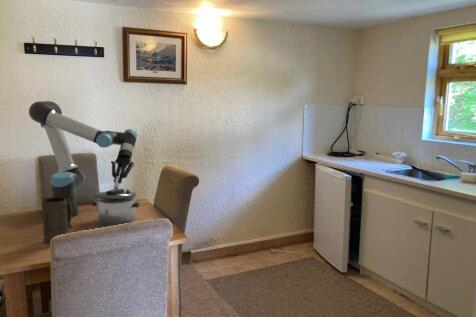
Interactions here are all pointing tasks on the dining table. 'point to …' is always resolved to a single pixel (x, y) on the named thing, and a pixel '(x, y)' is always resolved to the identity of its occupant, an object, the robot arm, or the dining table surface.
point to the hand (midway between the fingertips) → (115, 187)
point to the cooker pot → (115, 211)
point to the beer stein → (56, 217)
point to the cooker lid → (116, 194)
